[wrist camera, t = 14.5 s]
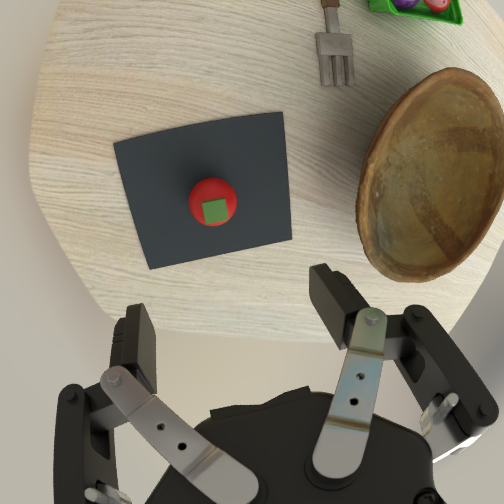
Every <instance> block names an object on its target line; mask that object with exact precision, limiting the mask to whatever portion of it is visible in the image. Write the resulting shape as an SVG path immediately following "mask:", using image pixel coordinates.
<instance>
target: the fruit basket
mask: <svg viewBox="0 0 504 504" xmlns="http://www.w3.org/2000/svg"><path fill="white" fill-rule="evenodd" d="M368 1H369V8H370V10H371V11H376V12H387V13H391V14H393V15H401V16H410V17H417V18H422V19H428V20H434V21H441V22H446V23H450V24H455V25H459V26H461V25H462V24H463V17H462V13H461V8H460V5H459V1H458V0H368Z"/></svg>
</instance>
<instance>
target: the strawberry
mask: <svg viewBox="0 0 504 504" xmlns="http://www.w3.org/2000/svg"><path fill="white" fill-rule="evenodd" d="M236 207H237V197H236V193H235V191H234V189H233V188H232V186H231V185H230V184H229V183H227V182H226V181H224V180H222V179H219V178H207V179H204V180H202V181H200V182H199V183H197V184H196V185H195V186H194V187H193V189H192V191H191V193H190V195H189V209H190V212H191V214H192V215H193V217H194V218H195V219H196V220H197V221H198V222H200V223H202V224H204V225H207V226H218V225H221V224H223V223H225V222H227V221H228V220H229V219H230V218H231V217H232V216H233V214H234V212H235V210H236Z"/></svg>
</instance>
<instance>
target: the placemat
mask: <svg viewBox="0 0 504 504" xmlns="http://www.w3.org/2000/svg"><path fill="white" fill-rule="evenodd" d="M113 145H114V149H115V153H116V158H117V162H118V166H119V170H120V174H121V177H122V181H123V185H124V189H125V192H126V196H127V199H128V203H129V206H130V210H131V213H132V217H133V220H134V223H135V226H136V230H137V233H138V236H139V239H140V242H141V245H142V248H143V251H144V254H145V257H146V260H147V263H148V266H149V269H150V270H152V269H156V268H161V267H165V266H170V265H175V264H179V263H184V262H189V261H193V260H198V259H203V258H207V257H212V256H216V255H221V254H226V253H230V252H235V251H240V250H244V249H249V248H254V247H259V246H263V245H268V244H273V243H277V242H282V241H287V240H291V239H292V230H291V212H290V196H289V182H288V168H287V155H286V143H285V131H284V120H283V112H274V113H265V114H257V115H249V116H242V117H235V118H228V119H222V120H216V121H210V122H204V123H199V124H194V125H189V126H184V127H179V128H174V129H170V130H165V131H161V132H156V133H152V134H148V135H144V136H140V137H136V138H132V139H129V140H125V141H121V142H118V143H114V144H113ZM207 178H219V179H222V180H224V181H226V182H227V183H229V184H230V185H231V186H232V188H233V189H234V191H235V193H236V197H237V207H236V210H235V212H234V214H233V216H232V217H231V218H230V219H229V220H228V221H227V222H225V223H223V224H221V225H218V226H207V225H204V224H202V223H200V222H198V221H197V220H196V219H195V218H194V217H193V215H192V214H191V212H190V209H189V195H190V193H191V191H192V189H193V187H194V186H195V185H196V184H197V183H199V182H200V181H202V180H204V179H207Z"/></svg>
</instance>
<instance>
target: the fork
mask: <svg viewBox="0 0 504 504" xmlns="http://www.w3.org/2000/svg"><path fill="white" fill-rule="evenodd" d="M321 2H322V7H323V8H324V11H325V18H326V26H327V33H321V32H319V33H316V41H317V50H318V55H319V62H320V72H321V84H322V86H330V76H329V65H328V56H332V64H333V75H334V85H335V86H342V85H343V82H342V69H341V58H340V56H344V62H345V74H346V85H347V86H355V82H354V68H353V57H352V56H353V48H352V39H351V35H349V34H340V31H339V23H338V16H337V9H336V8H337V7H340V4H339V0H321Z"/></svg>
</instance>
